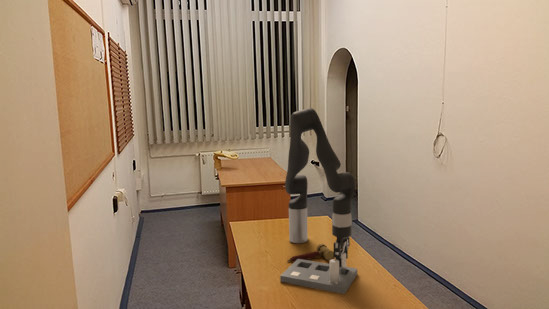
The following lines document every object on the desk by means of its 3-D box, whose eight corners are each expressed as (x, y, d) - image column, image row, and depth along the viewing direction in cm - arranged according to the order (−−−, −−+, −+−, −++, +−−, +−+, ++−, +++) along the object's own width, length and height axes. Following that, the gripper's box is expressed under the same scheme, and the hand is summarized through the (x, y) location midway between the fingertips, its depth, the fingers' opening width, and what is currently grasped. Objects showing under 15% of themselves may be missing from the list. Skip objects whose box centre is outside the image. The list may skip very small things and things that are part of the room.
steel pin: (338, 274, 165) (338, 251, 164) (347, 276, 163) (347, 252, 162) (335, 278, 162) (335, 254, 160) (344, 279, 160) (344, 255, 159)
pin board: (298, 264, 176) (297, 241, 175) (357, 274, 165) (357, 249, 163) (280, 281, 160) (279, 256, 159) (344, 294, 149) (344, 267, 147)
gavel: (290, 260, 173) (282, 251, 183) (291, 270, 174) (283, 261, 184) (334, 250, 180) (325, 242, 189) (335, 259, 180) (325, 251, 190)
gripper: (337, 217, 167) (338, 254, 170) (326, 227, 155) (327, 268, 157) (355, 219, 164) (355, 257, 166) (346, 230, 151) (346, 271, 154)
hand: (341, 262), depth 162 cm, fingers open, 8 cm apart
